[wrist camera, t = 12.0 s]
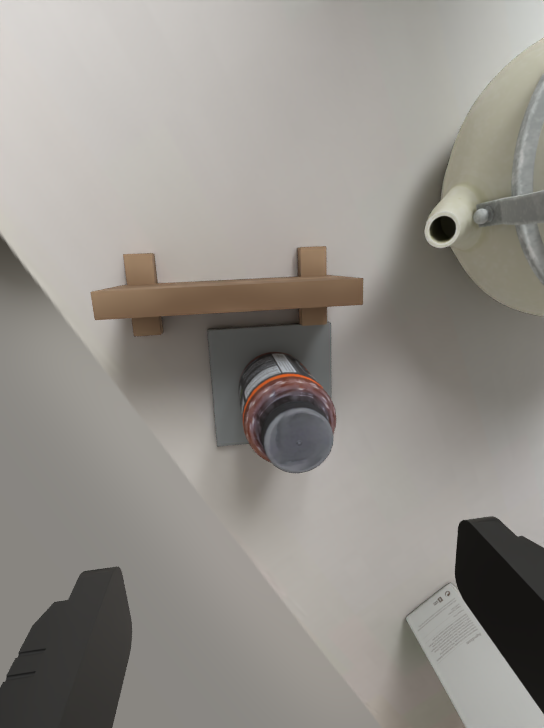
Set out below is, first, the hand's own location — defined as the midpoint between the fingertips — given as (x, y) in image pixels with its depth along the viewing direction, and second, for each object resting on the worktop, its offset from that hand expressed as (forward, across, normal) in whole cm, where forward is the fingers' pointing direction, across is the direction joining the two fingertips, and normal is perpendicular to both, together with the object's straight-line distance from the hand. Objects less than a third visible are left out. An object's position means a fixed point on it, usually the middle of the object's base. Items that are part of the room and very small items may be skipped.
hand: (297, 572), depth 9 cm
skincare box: (+24, -20, +32) cm, 44 cm away
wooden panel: (+24, +1, -5) cm, 25 cm away
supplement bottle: (+24, -2, +3) cm, 24 cm away
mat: (+24, -2, +3) cm, 24 cm away
